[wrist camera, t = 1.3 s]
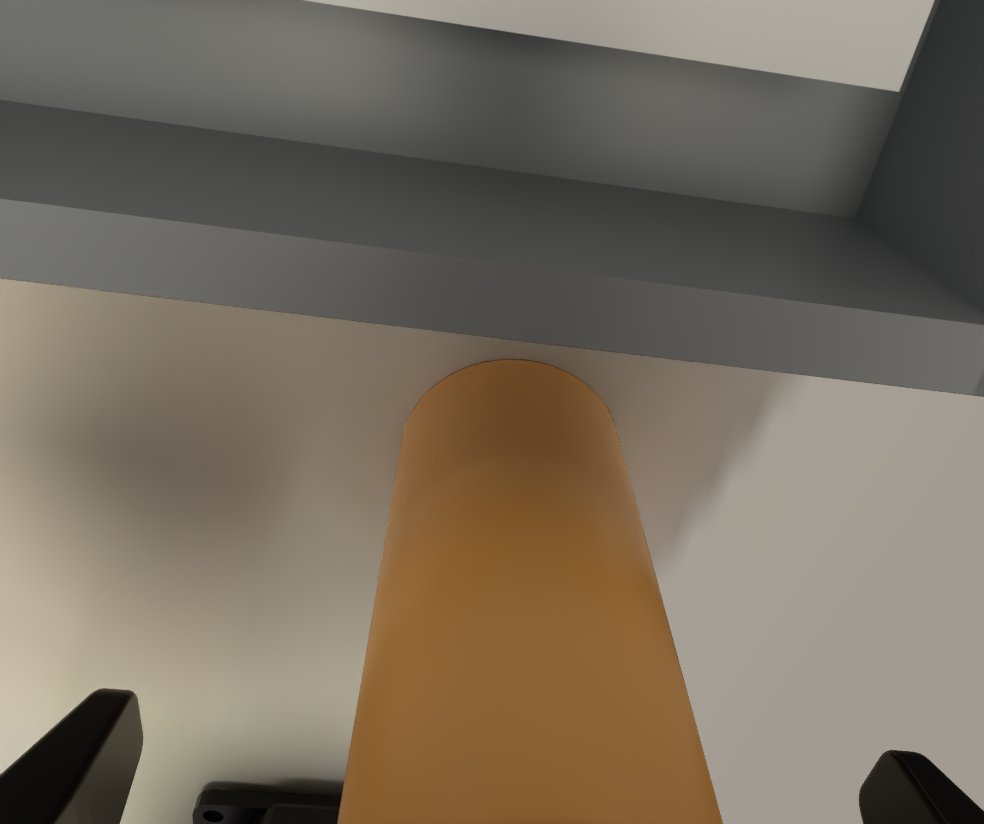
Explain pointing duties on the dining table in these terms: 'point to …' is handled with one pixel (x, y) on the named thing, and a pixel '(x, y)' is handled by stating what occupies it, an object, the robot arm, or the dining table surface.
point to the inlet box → (520, 170)
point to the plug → (520, 624)
